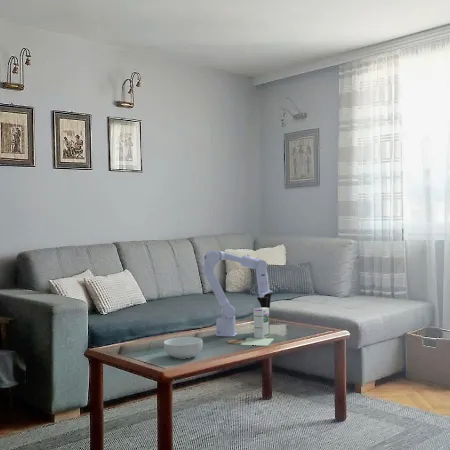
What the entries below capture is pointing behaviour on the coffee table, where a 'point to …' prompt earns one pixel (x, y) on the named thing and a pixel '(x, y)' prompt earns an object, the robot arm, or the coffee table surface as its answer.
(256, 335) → the syrup box
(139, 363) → the coffee table surface
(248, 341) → the mat
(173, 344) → the cereal bowl
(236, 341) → the cork coaster
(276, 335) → the coffee table surface
